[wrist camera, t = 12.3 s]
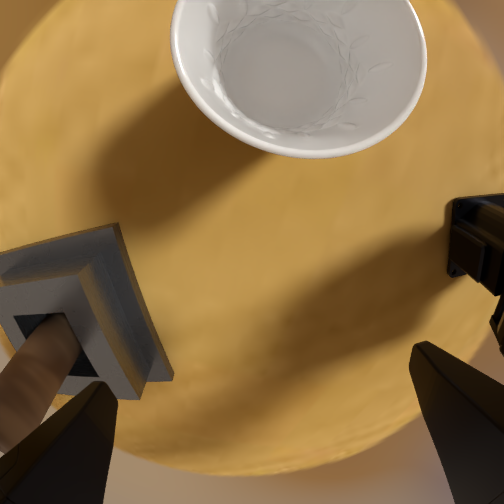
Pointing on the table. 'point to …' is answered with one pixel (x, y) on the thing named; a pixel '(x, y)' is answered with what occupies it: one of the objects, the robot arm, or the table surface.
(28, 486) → the robot arm
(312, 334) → the table surface
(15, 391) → the peg
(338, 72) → the white cup
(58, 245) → the socket
